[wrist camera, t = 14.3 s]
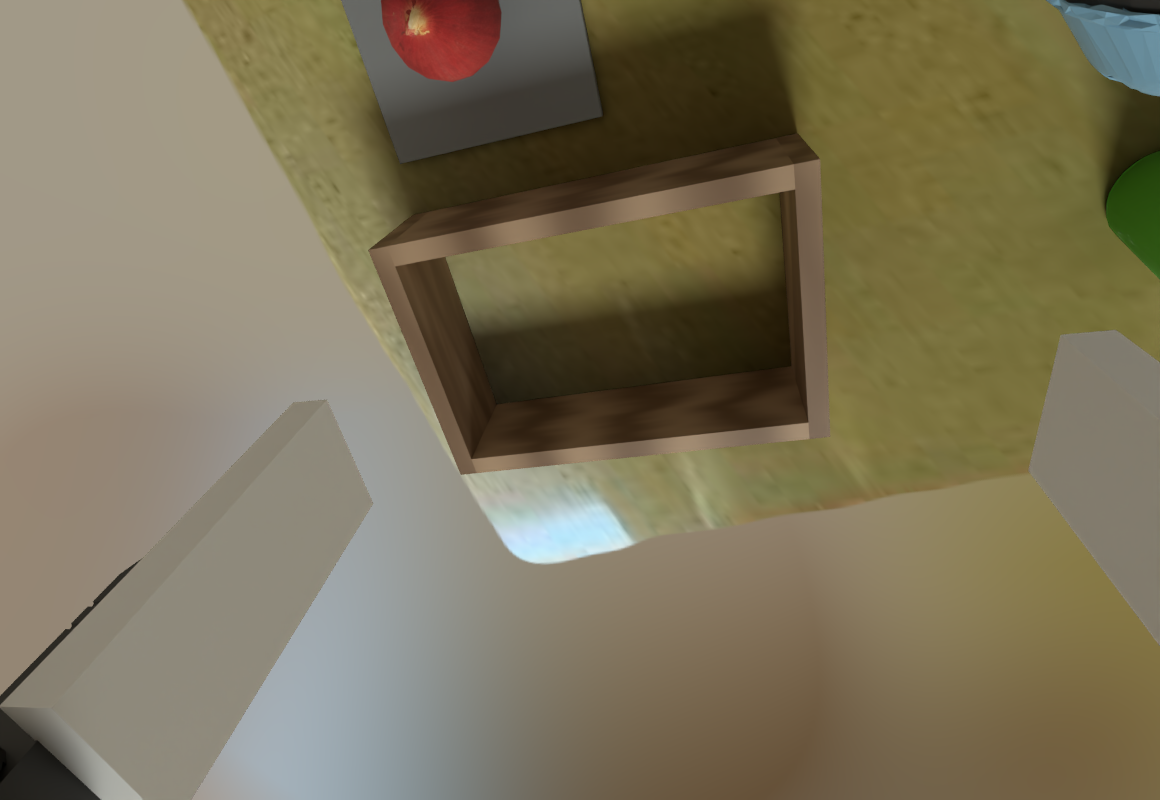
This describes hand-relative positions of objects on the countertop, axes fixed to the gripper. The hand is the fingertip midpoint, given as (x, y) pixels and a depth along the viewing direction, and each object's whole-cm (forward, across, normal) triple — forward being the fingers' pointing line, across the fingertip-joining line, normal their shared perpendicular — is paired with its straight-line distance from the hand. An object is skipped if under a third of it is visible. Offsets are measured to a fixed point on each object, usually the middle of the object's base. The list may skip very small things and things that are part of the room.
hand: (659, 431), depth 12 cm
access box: (+30, -5, -10) cm, 32 cm away
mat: (+30, -11, +8) cm, 33 cm away
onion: (+30, -10, +8) cm, 33 cm away
